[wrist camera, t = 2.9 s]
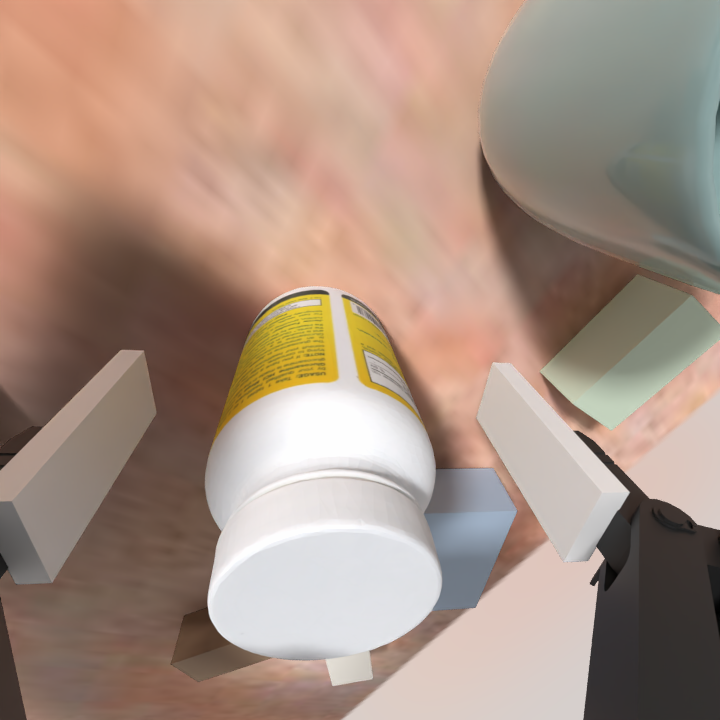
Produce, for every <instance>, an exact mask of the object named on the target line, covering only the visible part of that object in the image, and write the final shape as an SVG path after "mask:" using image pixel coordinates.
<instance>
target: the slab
mask: <svg viewBox="0 0 720 720" xmlns="http://www.w3.org/2000/svg"><path fill="white" fill-rule="evenodd" d="M516 513H517V509H516V507H515V506H514V504H513V502H512V500H511V499H510V497H509V495H508V493H507V492H506V490H505V488H504V486H503V485H502V483H501V481H500V479H499V478H498V476H497V474H496V472H495V471H494V469H493V468H467V469H436V477H435V484H434V490H433V494H432V497H431V500H430V502H429V504H428V506H427V508H426V510H425V512H424V516H425V518H426V520H427V523H428V525H429V528H430V531H431V534H432V537H433V541H434V544H435V548H436V552H437V555H438V559H439V562H440V565H441V571H442V589H441V592H440V596H439V599H438V601H437V603H436V604H435V606H434V608H433V609H432V611H437V610H451V609H465V608H475V607H476V606H477V603H478V601H479V599H480V596H481V594H482V592H483V589H484V587H485V585H486V582H487V580H488V578H489V575H490V573H491V571H492V569H493V566H494V564H495V562H496V559H497V557H498V555H499V552H500V550H501V548H502V545H503V543H504V541H505V538H506V536H507V534H508V531H509V529H510V527H511V524H512V522H513V520H514V518H515V515H516Z"/></svg>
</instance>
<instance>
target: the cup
mask: <svg viewBox="0 0 720 720" xmlns="http://www.w3.org/2000/svg"><path fill="white" fill-rule="evenodd" d="M478 126H479V137H480V141H481V146H482V150H483V154H484V157H485V159H486V161H487V163H488V166H489V168H490V170H491V172H492V174H493V177H494V178H495V180H496V181H497V183H498V184H499V185H500V187H501V188H502V190H503V191H504V193H505V194H506V195H507V196H508V197H509V198H510V199H511V200H512V201H513V202H514V203H515V204H517V205H518V206H519V207H520V208H521V209H522V210H523V211H524V212H525V213H526V214H527V215H529V216H530V217H532V218H533V219H535V220H536V221H538V222H540V223H541V224H543V225H545V226H546V227H548V228H550V229H552V230H553V231H555V232H557V233H559V234H561V235H563V236H564V237H566V238H568V239H570V240H573V241H575V242H577V243H579V244H582V245H584V246H586V247H589V248H591V249H594V250H596V251H598V252H601V253H603V254H606V255H609V256H611V257H614V258H617V259H619V260H622V261H625V262H627V263H630V264H633V265H636V266H638V267H641V268H644V269H647V270H650V271H652V272H655V273H658V274H661V275H664V276H666V277H669V278H672V279H675V280H678V281H681V282H683V283H686V284H689V285H692V286H695V287H698V288H701V289H704V290H707V291H710V292H714V293H717V294H720V0H524V2H523V3H522V5H521V6H520V8H519V9H518V11H517V12H516V14H515V15H514V16H513V18H512V19H511V21H510V22H509V24H508V25H507V27H506V29H505V31H504V33H503V35H502V37H501V39H500V41H499V43H498V45H497V47H496V49H495V51H494V53H493V55H492V58H491V61H490V64H489V67H488V70H487V73H486V76H485V79H484V81H483V84H482V89H481V95H480V101H479V107H478Z"/></svg>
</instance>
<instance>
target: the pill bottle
mask: <svg viewBox="0 0 720 720" xmlns="http://www.w3.org/2000/svg"><path fill="white" fill-rule="evenodd" d="M435 477H436V464H435V458H434V452H433V448H432V445H431V442H430V439H429V436H428V434H427V431H426V429H425V426H424V423H423V421H422V419H421V417H420V414H419V412H418V410H417V407H416V405H415V403H414V400H413V398H412V395H411V393H410V390H409V388H408V386H407V383H406V381H405V378H404V376H403V374H402V371H401V369H400V366H399V364H398V362H397V359H396V357H395V354H394V352H393V349H392V347H391V345H390V342H389V339H388V337H387V335H386V333H385V330H384V328H383V326H382V324H381V323H380V321H379V319H378V317H377V316H376V314H375V313H374V312H373V311H372V310H371V309H370V308H369V307H368V306H367V305H366V304H365V303H364V302H363V301H361V300H360V299H359V298H357V297H355V296H354V295H352V294H350V293H348V292H345V291H343V290H339V289H336V288H331V287H323V286H309V287H302V288H298V289H294V290H291V291H289V292H286V293H284V294H282V295H280V296H278V297H277V298H275V299H274V300H272V301H271V302H270V303H269V304H268V305H266V306H265V307H264V308H263V309H262V311H261V312H260V313H259V314H258V316H257V317H256V319H255V320H254V322H253V324H252V326H251V328H250V330H249V333H248V335H247V338H246V341H245V344H244V347H243V350H242V353H241V356H240V360H239V363H238V366H237V369H236V372H235V375H234V378H233V381H232V385H231V387H230V390H229V393H228V396H227V399H226V403H225V406H224V409H223V412H222V415H221V418H220V421H219V424H218V427H217V430H216V434H215V437H214V440H213V443H212V446H211V449H210V453H209V456H208V461H207V467H206V473H205V491H206V498H207V502H208V506H209V509H210V512H211V514H212V516H213V519H214V520H215V522H216V524H217V525H218V527H219V529H220V530H221V531H222V533H221V535H220V537H219V540H218V543H217V546H216V552H215V559H214V565H213V570H212V575H211V580H210V585H209V591H208V600H207V603H208V611H209V616H210V619H211V621H212V623H213V624H214V626H215V628H216V629H217V631H218V632H219V633H220V634H221V635H222V636H223V637H224V638H225V639H227V640H228V641H229V642H231V643H233V644H234V645H236V646H238V647H240V648H242V649H244V650H247V651H249V652H251V653H255V654H259V655H262V656H267V657H272V658H279V659H287V660H321V659H333V658H339V657H345V656H350V655H354V654H358V653H362V652H366V651H369V650H372V649H375V648H378V647H380V646H383V645H385V644H388V643H390V642H392V641H394V640H396V639H398V638H400V637H401V636H403V635H405V634H406V633H408V632H409V631H411V630H412V629H413V628H415V627H416V626H417V625H419V624H420V623H421V622H422V621H423V620H424V619H425V618H426V617H427V616H428V614H429V613H430V612H431V611H432V609H433V608H434V606H435V604H436V603H437V601H438V599H439V596H440V592H441V589H442V571H441V565H440V562H439V559H438V555H437V552H436V548H435V544H434V541H433V537H432V534H431V531H430V528H429V525H428V523H427V520H426V518H425V516H424V512H425V510H426V508H427V506H428V504H429V502H430V500H431V497H432V494H433V490H434V484H435Z"/></svg>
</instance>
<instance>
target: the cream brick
mask: <svg viewBox="0 0 720 720" xmlns="http://www.w3.org/2000/svg"><path fill="white" fill-rule="evenodd" d="M325 660H326V663H327V667H328V671H329V675H330V679H331V682H332V686H336V685H342V684H347V683H353V682H359V681H365V680H371V679H373V673H372V664H371V655H370V650H369V651H366V652H362V653H358V654H354V655H350V656H345V657H339V658H333V659H325Z"/></svg>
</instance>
